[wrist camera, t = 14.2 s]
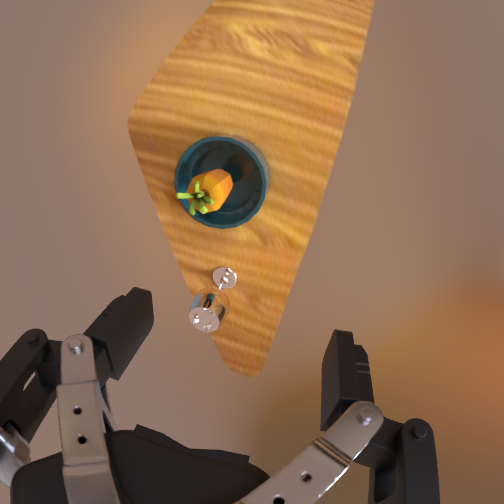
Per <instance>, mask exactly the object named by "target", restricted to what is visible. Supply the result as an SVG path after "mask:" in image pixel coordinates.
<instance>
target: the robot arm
mask: <svg viewBox="0 0 504 504" xmlns="http://www.w3.org/2000/svg"><path fill="white" fill-rule="evenodd" d="M153 322H154V314H153V304H152V294H151V292H150V291H148V290H144V289H140V288H137V287H134V288H132V290H131V291H130V292H129V293H128V294H127V295H126V296H124V295H122V296H120V297H118V298H116V299H114V300H113V301H112V302H111V303H110V304H109V305H108V306H107V308H106V309H104V311H103V312H102V313H101V314H100V315H99V317H97V318H96V320H95V321H94V322H93V323H92V324H91V325H90V326H89V328H88V329H87V330H86V331H85V332H84V333H83V334H75V335H71V336H69V337H68V338H66V339H65V340H64V341H54V340H48V338H47V335H46V333H45V332H44V331H43V330H41V329H31V330H28V331H26V332H25V333H24V334H23V335H22V336H21V337H20V338H19V339H18V340H17V342H16V343H15V344H14V345H13V346H12V348H11V349H10V350H9V351H8V352H7V353H6V355H5V356H4V357H3V358H2V360H1V361H0V481H1V482H2V483H3V484H5V485H6V486H7V487H8V488H10V497H11V500H10V504H314V503H315V502H316V501H317V500H318V499H319V498H320V497H321V496H322V495H323V494H324V493H325V492H326V491H327V490H328V489H329V488H330V487H331V486H332V485H333V484H334V483H335V482H336V481H337V480H338V479H339V477H340V476H341V475H342V474H343V473H344V472H345V471H346V470H347V469H348V467H349V466H350V465H351V463H352V462H355V463H359V464H361V465H365V466H367V467H370V476H369V494H368V504H440V494H439V478H438V468H437V459H436V458H437V457H436V449H435V441H434V434H433V430H432V428H431V427H430V425H429V424H428V423H427V422H426V421H424V420H422V419H418V418H414V419H410V420H408V421H407V422H406V423H405V424H402V423H399V422H396V421H393V420H390V419H387V418H386V417H384V416H383V414H382V411H381V410H380V408H378V406H376V405H375V404H374V397H373V389H372V382H371V375H370V368H369V362H368V356H367V353H366V352H365V350H364V349H363V347H362V346H361V345H355V344H354V340H353V334H352V332H348V331H342V330H336V329H335V330H334V332H333V334H332V336H331V339H330V342H329V344H328V347H327V349H326V352H325V355H324V358H323V363H322V392H321V425H320V426H321V427H320V431H326V432H325V433H324V434H323V435H322V436H321V437H320V438H318V439H315V440H314V441H312V443H310V444H309V445H308V446H307V447H306V448H305V449H304V450H302V452H300V453H299V454H298V455H297V456H296V457H294V458H293V459H292V460H291V461H290V462H289V463H287V464H286V465H285V466H284V467H283V468H282V469H280V470H279V471H278V472H277V473H275V474H274V475H273V476H272V477H270V476H269V475H268V474H266V472H264V471H263V470H261V469H260V468H258V467H256V466H255V465H252V464H250V463H248V461H249V456H247V455H242V454H237V453H232V452H228V451H223V450H208V449H190V448H187V447H185V446H183V445H181V444H180V443H178V442H176V441H175V440H173V439H171V438H170V437H168V436H166V435H165V434H163V433H160V432H157V431H155V430H152V429H149V428H146V427H144V426H141V425H138V424H137V425H136V427H135V429H134V430H118V429H117V426H116V424H115V420H114V417H113V412H112V408H111V403H110V399H109V393H108V388H107V384H106V382H107V380H108V379H109V377H110V378H113V379H115V380H119V378H120V377H121V375H122V374H123V372H124V371H125V369H126V367H127V366H128V364H129V363H130V361H131V360H132V358H133V357H134V355H135V353H136V352H137V350H138V349H139V347H140V346H141V344H142V343H143V341H144V340H145V338H146V337H147V335H148V334H149V332H150V331H151V329H152V326H153ZM33 372H34V373H35V374H36V375H35V376H34V378H33V379H32V380H31V382H30V383H29V384H28V386H27V387H26V389H25V390H24V392H23V389H24V385H25V383H26V382H27V381H28V379H29V378H30V377H31V375H32V374H33ZM56 398H57V409H58V420H59V431H60V440H61V447H62V451H61V452H59V453H56V454H54V455H51V456H48V457H45V458H42V459H39V460H36V461H34V462H31V457H30V447H29V443H30V441H31V440H32V438H33V436H34V434H35V433H36V431H37V429H38V428H39V426H40V424H41V422H42V421H43V419H44V417H45V416H46V414H47V413H48V411H49V409H50V408H51V406H52V404H53V403H54V401H55V400H56Z"/></svg>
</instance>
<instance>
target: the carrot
mask: <svg viewBox="0 0 504 504" xmlns="http://www.w3.org/2000/svg"><path fill="white" fill-rule="evenodd" d="M232 187H233V181H232V178H231V174H229V173H228V172H226V171H224V170H223V169H215V170H212V171H208V172H204V173H202V174H200V175H197V176H195V177H193V178H192V180H191V182H190V184H189V186H188V188H187V190H186V193H175V197H176V198H177V199H187V198H188V201H189V204H190V207H189V214H191V215H195V211H196V210H198V211H199V212H201V213H202V214H205V213H207V212H211V211H216V210H218V209H219V208H220V207H221V206H222V204H223V203H224V202H225V200H226V198H227V197H228V195H229V193H230V191H231V190H232Z"/></svg>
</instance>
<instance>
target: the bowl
mask: <svg viewBox="0 0 504 504" xmlns="http://www.w3.org/2000/svg"><path fill="white" fill-rule="evenodd" d="M215 169H223V170H224V171H226V172H228V173H229V174H231V178H232V181H233V187H232V190H231V191H230V193H229V195H228V197H227V198H226V200H225V202H224V203H223V204H222V206H221V207H220V208H219V209H218V210H216V211H211V212H207V213H205V214H202V213H201V212H199V211H198V210H196V211H195V215H191V214H189V207H190V204H189V201H188V198H187V199H178V200H179V201H180V203H181V205H182V206H183V208H184V210H185V211H186V212H187V213H188V214H189V215H190V216H191V217H192V218H194V219H195V220H196V221H198V222H200V223H202V224H204V225H206V226H208V227H214V228H220V229H225V228H233V227H237V226H239V225H241V224H243V223H245V222H247V221H249V220H250V219H251V218H252V217H253V216H254V215H255V214H256V213H257V212H258V211H259V209H260V207H261V205H262V203H263V201H264V199H265V197H266V195H267V193H268V191H269V185H270V178H271V176H270V171H269V166H268V162H267V161H266V159H265V157H264V155H263V153H262V152H261V150H260V149H259V148H257V147H256V146H255V145H254V144H253V143H252V142H251V141H249V140H247V139H245V138H242V137H240V136H238V135H229V134H221V135H217V136H213V137H208V138H204V139H201V140H199V141H197V142H196V143H194V144H193V145H191V146H190V147H188V148H187V150H186V151H185V152H184V153H183V155H182V156H181V157H180V159H179V162H178V164H177V167H176V170H175V182H174V185H175V190H176V193H186V190H187V188H188V186H189V184H190V182H191V180H192V178H193V177H195V176H197V175H200V174H202V173H204V172H208V171H212V170H215Z"/></svg>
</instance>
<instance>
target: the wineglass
mask: <svg viewBox="0 0 504 504" xmlns="http://www.w3.org/2000/svg"><path fill="white" fill-rule="evenodd" d="M213 281H214V282H215V284H216V285H217V286H219V287H218V288H215V287H206V288H203V289H202V290H200V291H199V292H198V293H197V294H196V295H195V297H194V299H193V301H192V304H191V307H190V313H189V319H190V321H191V323H192V325H193V326H194V327H196V328H197V329H199V330H201V331H204V332H213V331H215V330H216V329H218V328H219V327H220V325H221V324H222V323H223V322H224V320H225V319H226V317H227V315H228V313H229V308H230V302H229V299H228V297H227V295H226V294H225V293H224V292H223V291H222V290H221V288H223V289H230V288H232V287H234V286H235V284H236V282H237V277H236V274H235V273H234V272H233V271H232V270H231V269H229V268H226V267H220V268H217V269H216V270H215V271H214V272H213Z"/></svg>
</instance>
